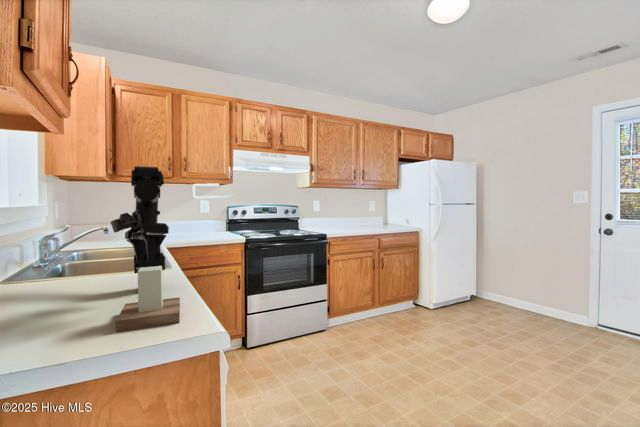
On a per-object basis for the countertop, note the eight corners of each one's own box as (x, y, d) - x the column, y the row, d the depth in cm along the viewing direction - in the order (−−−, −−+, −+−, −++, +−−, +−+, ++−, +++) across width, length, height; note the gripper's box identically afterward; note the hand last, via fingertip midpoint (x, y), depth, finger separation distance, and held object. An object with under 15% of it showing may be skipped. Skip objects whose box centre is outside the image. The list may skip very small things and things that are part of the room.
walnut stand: (125, 313, 81) (125, 303, 81) (179, 306, 87) (179, 297, 87) (116, 332, 69) (115, 321, 69) (179, 322, 75) (179, 312, 75)
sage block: (141, 306, 79) (140, 267, 79) (162, 303, 81) (162, 265, 81) (138, 312, 75) (137, 271, 74) (161, 309, 77) (160, 269, 76)
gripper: (106, 210, 91) (103, 264, 89) (124, 199, 78) (121, 261, 76) (147, 213, 99) (145, 262, 97) (170, 203, 86) (168, 260, 84)
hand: (144, 261), depth 88 cm, fingers open, 9 cm apart
